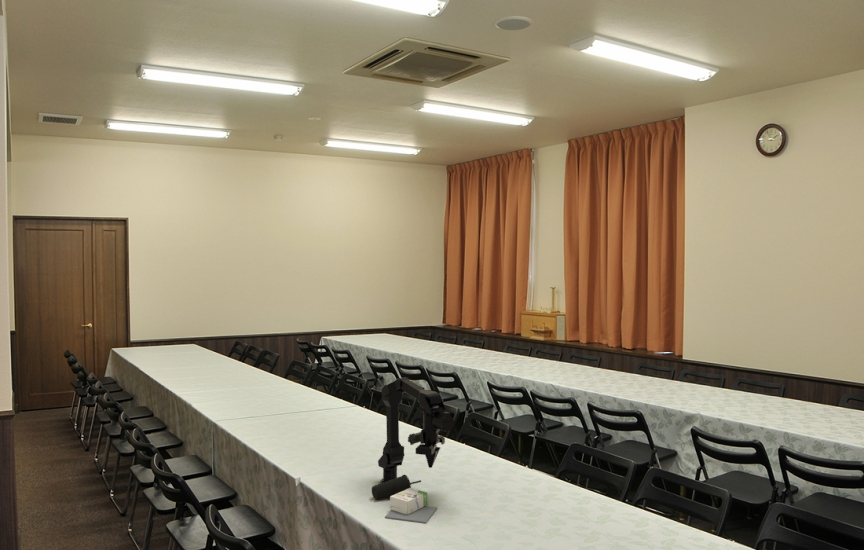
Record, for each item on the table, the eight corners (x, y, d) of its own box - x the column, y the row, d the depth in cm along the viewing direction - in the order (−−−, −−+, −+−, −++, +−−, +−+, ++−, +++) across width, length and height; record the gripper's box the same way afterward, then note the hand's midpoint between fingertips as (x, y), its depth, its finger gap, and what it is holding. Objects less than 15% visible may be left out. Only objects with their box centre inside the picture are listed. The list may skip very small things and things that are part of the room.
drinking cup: (369, 481, 243) (415, 469, 253) (371, 501, 243) (417, 489, 252) (377, 483, 237) (424, 472, 246) (379, 504, 236) (426, 492, 246)
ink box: (427, 492, 233) (407, 501, 223) (427, 505, 233) (407, 515, 223) (409, 487, 238) (389, 496, 228) (409, 500, 238) (389, 509, 228)
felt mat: (398, 504, 235) (398, 502, 235) (437, 508, 231) (437, 507, 231) (384, 518, 222) (384, 516, 222) (426, 523, 217) (426, 521, 217)
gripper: (418, 419, 252) (418, 458, 252) (402, 430, 234) (402, 472, 234) (445, 421, 249) (445, 461, 249) (431, 432, 231) (430, 475, 231)
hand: (430, 467), depth 241 cm, fingers closed
